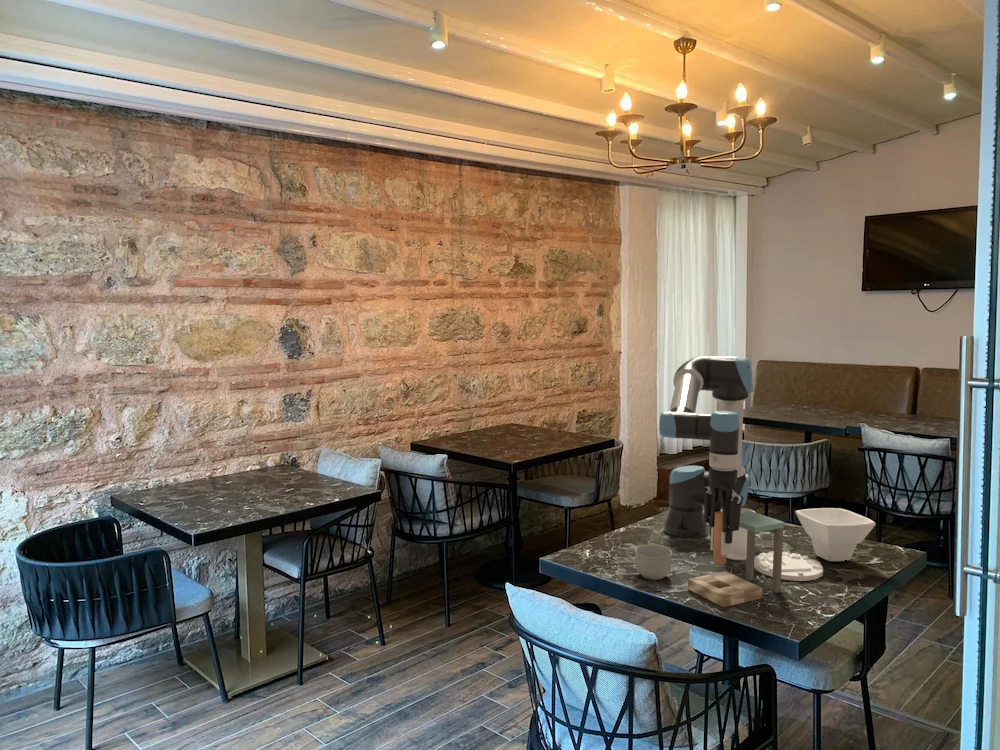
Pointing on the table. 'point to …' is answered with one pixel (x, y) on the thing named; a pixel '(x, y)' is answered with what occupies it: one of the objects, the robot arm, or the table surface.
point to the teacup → (651, 560)
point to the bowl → (834, 531)
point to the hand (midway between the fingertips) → (720, 551)
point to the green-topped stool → (753, 525)
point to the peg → (718, 539)
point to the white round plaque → (790, 566)
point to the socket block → (724, 588)
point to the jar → (739, 542)
